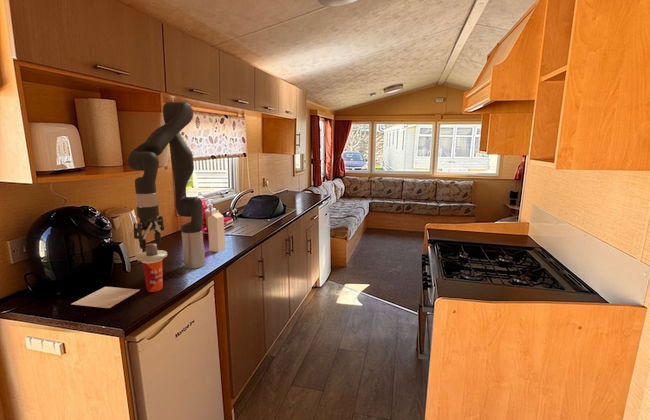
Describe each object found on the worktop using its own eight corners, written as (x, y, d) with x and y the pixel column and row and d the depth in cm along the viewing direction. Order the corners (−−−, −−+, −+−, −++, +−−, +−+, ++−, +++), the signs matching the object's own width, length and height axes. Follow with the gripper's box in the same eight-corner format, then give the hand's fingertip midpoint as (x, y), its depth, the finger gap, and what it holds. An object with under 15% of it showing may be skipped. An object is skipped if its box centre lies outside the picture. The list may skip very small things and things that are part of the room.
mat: (105, 287, 142) (105, 286, 142) (140, 291, 140) (140, 289, 139) (70, 305, 127) (70, 304, 127) (109, 309, 124) (109, 308, 124)
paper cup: (156, 295, 136) (152, 260, 133) (139, 293, 138) (136, 258, 135) (169, 287, 143) (167, 254, 141) (154, 285, 145) (151, 252, 143)
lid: (148, 251, 144) (147, 240, 143) (173, 253, 142) (172, 241, 141) (129, 260, 134) (128, 247, 133) (155, 262, 132) (154, 249, 131)
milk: (225, 249, 195) (223, 210, 190) (218, 252, 189) (216, 212, 185) (216, 248, 197) (214, 209, 193) (209, 251, 191) (207, 211, 187)
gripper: (150, 201, 142) (154, 240, 145) (124, 207, 128) (129, 250, 131) (167, 201, 140) (170, 241, 143) (143, 208, 126) (147, 251, 129)
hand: (151, 245), depth 137 cm, fingers open, 8 cm apart
